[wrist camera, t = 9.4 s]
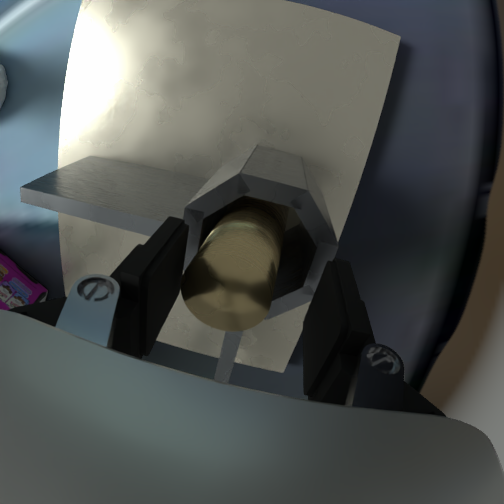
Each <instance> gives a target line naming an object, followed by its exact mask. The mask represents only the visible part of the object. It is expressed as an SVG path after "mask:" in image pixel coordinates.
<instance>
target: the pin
mask: <svg viewBox="0 0 504 504" xmlns="http://www.w3.org/2000/svg"><path fill="white" fill-rule="evenodd" d="M288 212H289V206H285V205H281V204H277V203H273V202H270V201H266V200H262V199H258V198H254V197H250V196H246V195H243V196H241V197H240V198H238V199H236V200H234V201H233V202H232V203H231V205H230V206H229V208H228V209H227V210H226V212H225V213H224V215H223V216H222V217H221V219H220V220H219V222H218V223H217V225H216V226H215V227H214V229H213V230H212V232H211V233H210V235H209V236H208V237H207V239H206V240H205V242H204V243H203V245H202V246H201V248H200V249H199V250H198V252H197V253H196V255H195V256H194V258H193V259H192V261H191V262H190V264H189V265H188V267H187V268H186V270H185V271H184V273H183V276H182V279H181V294H182V298H183V300H184V303H185V305H186V306H187V308H188V309H189V311H190V312H191V313H192V314H193V315H194V316H195V317H196V318H197V319H198V320H200V321H201V322H203V323H204V324H206V325H208V326H210V327H212V328H215V329H218V330H222V331H230V332H236V331H244V330H247V329H250V328H253V327H255V326H256V325H258V324H259V323H260V322H262V321H263V320H264V318H265V317H266V316H267V314H268V312H269V310H270V307H271V302H272V297H273V292H274V287H275V282H276V277H277V271H278V266H279V261H280V256H281V250H282V245H283V239H284V234H285V229H286V223H287V218H288Z"/></svg>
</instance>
